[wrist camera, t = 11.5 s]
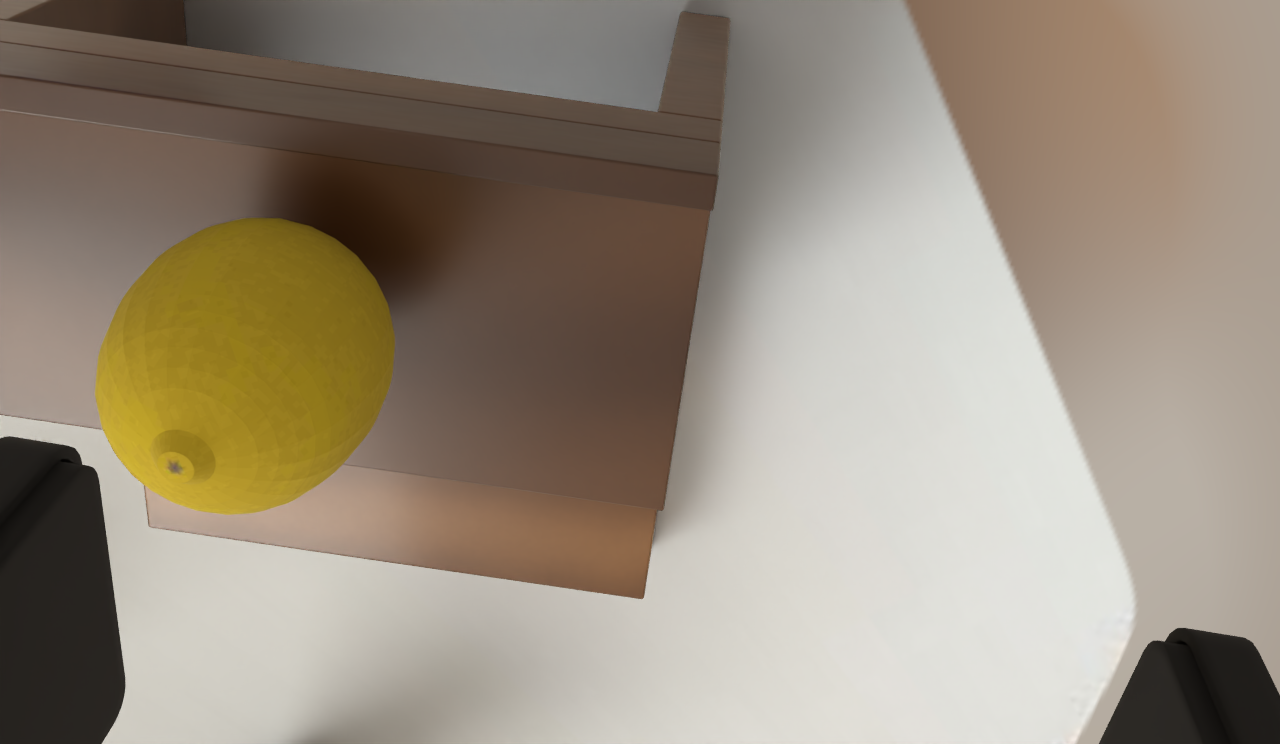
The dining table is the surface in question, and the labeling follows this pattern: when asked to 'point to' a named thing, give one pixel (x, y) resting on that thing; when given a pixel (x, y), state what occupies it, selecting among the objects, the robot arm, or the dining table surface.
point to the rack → (384, 272)
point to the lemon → (245, 366)
